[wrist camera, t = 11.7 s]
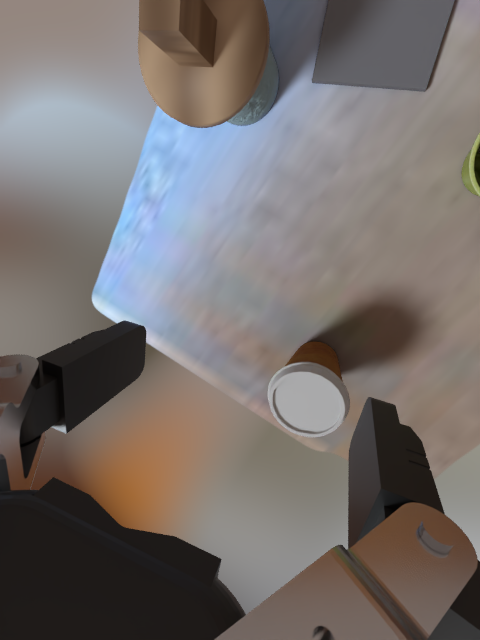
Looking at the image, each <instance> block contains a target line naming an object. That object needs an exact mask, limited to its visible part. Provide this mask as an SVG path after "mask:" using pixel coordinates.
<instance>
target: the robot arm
mask: <svg viewBox="0 0 480 640" xmlns="http://www.w3.org/2000/svg"><path fill="white" fill-rule="evenodd" d="M145 346H146V329H145V327H144V326H141V325H138V324H135V323H132V322H128V321H122V322H120V323H118V324H116V325H113V326H111V327H109V328H107V329H105V330H101V331H96V332H92V333H91V334H88V335H86V336H84V337H82V338H81V339H77V340H75V341H73V342H72V343H71V344H70V343H69V344H67V345H64V346H62V347H60V348H58V349H56V350H53V351H51V352H49V353H47V354H45V355H43V356H41V357H38V358H34V357H31V356H28V355H6V356H1V357H0V640H480V561H478V560H477V555H476V552H475V549H474V547H473V545H472V543H471V542H470V540H469V539H468V537H467V536H466V534H465V533H464V532H463V531H462V530H461V529H460V528H459V527H458V526H457V524H455V523H454V522H453V521H452V520H451V519H450V518H448V517H447V516H446V515H445V514H444V511H443V507H442V504H441V501H440V498H439V495H438V492H437V488H436V485H435V482H434V479H433V476H432V472H431V470H429V469H430V466H429V463H428V460H427V458H426V453H425V450H424V447H423V444H422V441H421V440H420V439H419V437H418V436H417V435H416V434H415V432H414V431H413V430H412V429H411V427H409V426H406V425H402V424H400V423H399V418H398V414H397V410H396V406H395V405H394V404H390V403H387V402H384V401H381V400H378V399H374V398H371V397H369V398H368V399H367V401H366V403H365V405H364V408H363V410H362V413H361V416H360V418H359V421H358V424H357V426H356V429H355V431H354V434H353V437H352V440H351V444H350V449H349V508H348V511H349V512H348V513H349V514H348V529H349V530H348V550H346V549H345V548H344V547H343V545H338V546H335V547H333V548H332V549H330V550H329V551H328V552H326V553H325V554H324V555H323V556H321V557H320V558H319V559H317V560H316V561H315V562H314V563H312V564H311V565H310V566H308V567H307V568H306V569H305V570H303V571H302V572H301V573H299V574H298V575H297V576H296V577H295V578H293V579H292V580H291V581H289V582H288V583H287V584H285V585H284V586H283V587H281V588H280V589H279V590H278V591H276V592H275V593H274V594H272V595H271V596H270V597H269V598H267V599H266V600H265V601H263V602H262V603H261V604H260V605H258V606H257V607H256V608H254V609H253V610H252V611H251V612H249V613H248V614H247V615H246V614H245V612H244V610H243V609H242V607H241V606H240V604H239V603H238V601H237V599H236V598H235V597H234V595H233V594H232V593H231V592H230V591H229V590H228V588H227V587H226V586H225V585H224V584H223V583H222V582H221V581H220V580H219V579H218V578H217V577H218V572H219V568H220V563H221V559H220V558H218V557H216V556H214V555H212V554H210V553H208V552H206V551H204V550H201V549H199V548H197V547H195V546H193V545H191V544H189V543H187V542H185V541H183V540H181V539H179V538H177V537H174V536H169V535H163V534H157V533H152V532H146V531H140V530H135V529H129V528H125V527H123V526H121V525H120V524H118V523H117V522H116V521H115V520H114V519H113V518H112V517H111V516H110V515H109V514H108V513H107V512H106V511H105V510H104V509H103V508H102V507H101V506H100V505H99V504H98V503H97V502H96V501H95V500H94V499H93V498H92V497H91V496H90V495H89V494H87V493H85V492H82V491H81V490H79V489H76V488H74V487H72V486H70V485H68V484H66V483H64V482H62V481H60V480H58V479H56V478H54V477H53V478H52V479H51V480H50V481H49V482H48V483H47V484H45V485H44V486H43V487H42V488H41V489H40V490H30V489H31V485H32V482H33V479H34V475H35V472H36V469H37V466H38V463H39V459H40V456H41V453H42V449H43V446H44V443H45V439H46V436H45V431H46V430H48V429H49V428H50V427H52V428H54V429H57V430H59V431H61V432H64V433H68V432H69V431H70V430H72V429H73V428H74V427H75V426H77V425H78V424H79V423H81V422H82V421H83V420H85V419H86V418H87V417H88V416H90V415H91V414H92V413H94V412H95V411H96V410H97V409H99V408H100V407H101V406H103V405H104V404H105V403H106V402H108V401H109V400H110V399H111V398H113V397H114V396H116V395H117V394H118V393H119V392H121V391H122V390H123V389H125V388H126V387H127V386H128V385H130V384H131V383H132V382H133V381H135V380H136V379H137V378H138V377H139V376H140V374H141V373H142V371H143V368H144V363H145Z"/></svg>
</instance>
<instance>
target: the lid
mask: <svg viewBox="0 0 480 640" xmlns="http://www.w3.org/2000/svg"><path fill="white" fill-rule="evenodd" d="M268 52H269V22H268V16H267V11H266V7H265V4H264V1H263V0H140V1H139V37H138V53H139V62H140V67H141V72H142V76H143V78H144V82H145V84H146V86H147V89H148V91H149V93H150V95H151V96H152V98H153V100H154V101H155V102H156V104H157V105H158V106H159V107H160V108H161V109H162V110H163V111H164V112H165V113H166V114H168V115H169V116H170V117H172V118H174V119H176V120H177V121H179V122H181V123H183V124H185V125H188V126H191V127H197V128H207V127H213V126H216V125H220V124H222V123H224V122H226V121H228V120H229V119H231V118H232V117H234V116H235V115H236V114H237V113H238V112H240V111H241V110H242V109H243V108H244V106H245V105H246V104H247V103H248V102H249V100H250V99H251V97H252V96H253V94H254V93H255V91H256V89H257V87H258V85H259V83H260V81H261V78H262V76H263V73H264V70H265V66H266V63H267V57H268Z"/></svg>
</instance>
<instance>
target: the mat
mask: <svg viewBox="0 0 480 640" xmlns="http://www.w3.org/2000/svg"><path fill="white" fill-rule="evenodd" d="M454 1H455V0H328V5H327V10H326V15H325V20H324V24H323V29H322V34H321V39H320V44H319V49H318V54H317V59H316V63H315V68H314V73H313V78H312V83H322V84H335V85H348V86H360V87H373V88H386V89H399V90H412V91H425V90H426V88H427V85H428V82H429V79H430V75H431V72H432V69H433V66H434V63H435V60H436V57H437V54H438V51H439V48H440V44H441V41H442V38H443V35H444V32H445V29H446V26H447V23H448V20H449V16H450V13H451V10H452V7H453V4H454Z"/></svg>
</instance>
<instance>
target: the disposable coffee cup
mask: <svg viewBox="0 0 480 640" xmlns="http://www.w3.org/2000/svg"><path fill="white" fill-rule="evenodd" d="M268 401H269V404H270V408H271V411H272V413H273V415H274V417H275V418H276V419H277V421H278V422H279V423H280V424H281V425H282V426H283V427H284V428H286V429H287V430H289V431H291V432H293V433H295V434H298V435H301V436H305V437H319V436H324V435H326V434H329V433H331V432H333V431H334V430H335V429H336V428H338V426H339V425H340V424H341V423H342V422H343V421H344V420H345V418H346V416H347V414H348V412H349V407H350V399H349V394H348V391H347V388H346V386H345V385H344V383H343V381H342V377H341V372H340V367H339V363H338V358H337V355H336V353H335V352H334V350H333V349H332V348H331V347H330V346H328V345H327V344H325V343H322V342H314V341H313V342H308V343H305V344H303V345H302V346H301V347H300V348H299V349H298V350H297V351H296V353H295V354H294V355H293V356H292V358H291V359H290V360H289V362H288V363H287V364H286V365H285V367H283V368H281V369H280V370H279V371H278V372H277V373H276V374H275V375H274V376H273V377H272V379H271V381H270V383H269V387H268Z"/></svg>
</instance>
